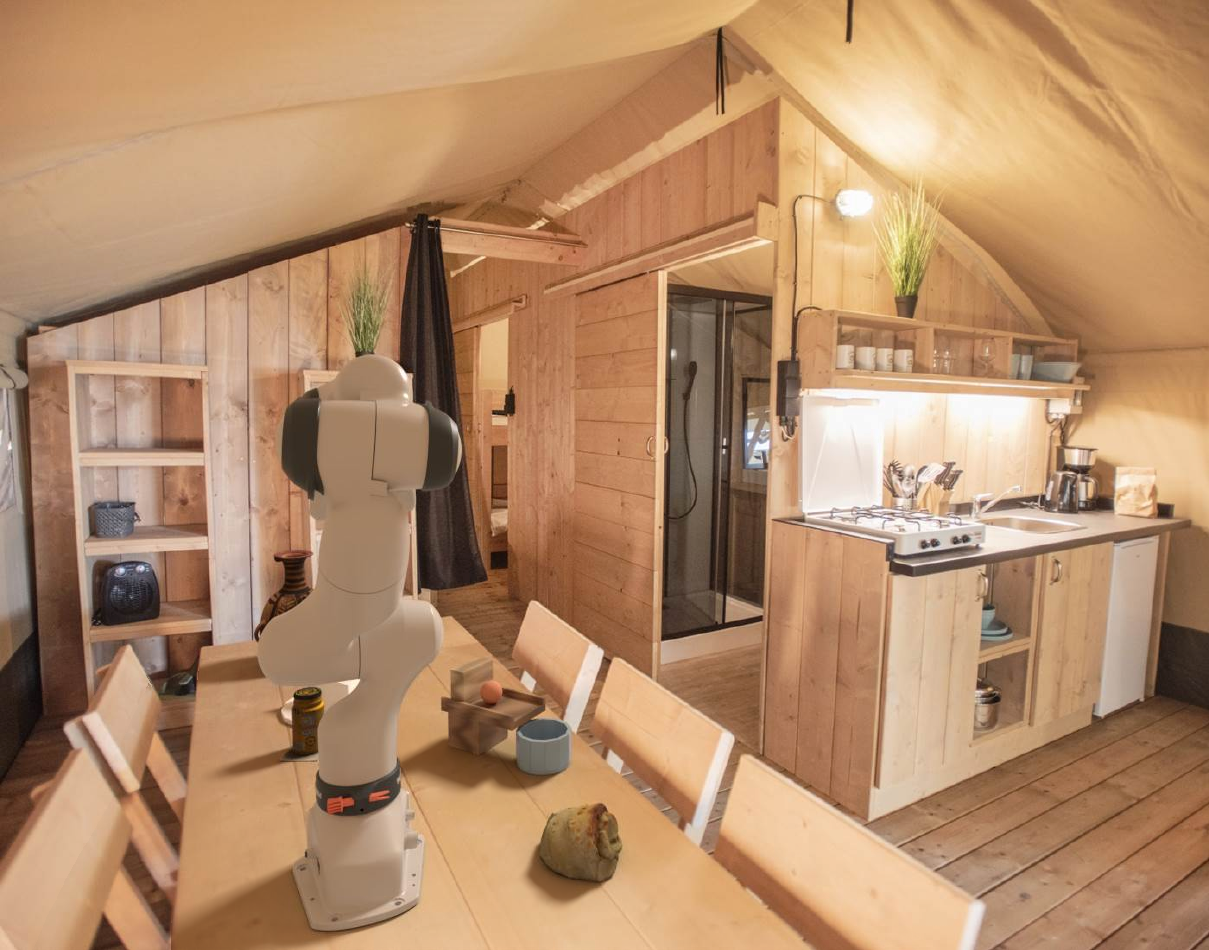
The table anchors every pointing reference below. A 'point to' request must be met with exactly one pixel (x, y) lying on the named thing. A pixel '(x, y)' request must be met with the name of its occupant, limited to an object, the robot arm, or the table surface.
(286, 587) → the vase
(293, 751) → the condiment
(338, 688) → the dish
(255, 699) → the table surface
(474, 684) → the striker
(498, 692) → the ball
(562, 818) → the pastry
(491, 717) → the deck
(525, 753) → the cup
